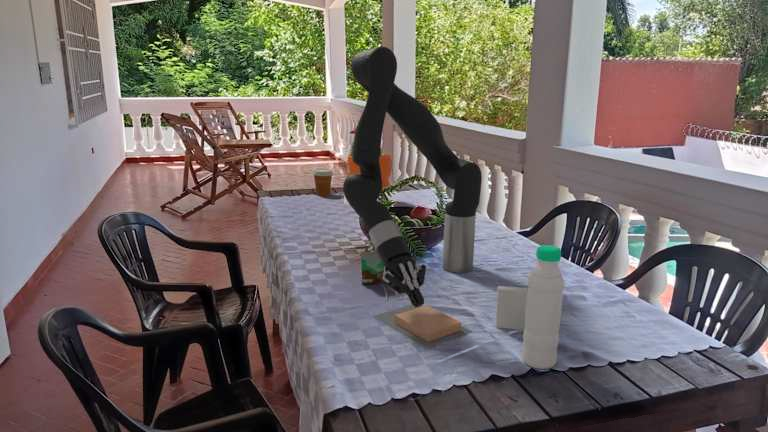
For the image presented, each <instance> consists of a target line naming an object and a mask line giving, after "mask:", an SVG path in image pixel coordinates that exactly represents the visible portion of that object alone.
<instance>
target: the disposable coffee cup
mask: <svg viewBox="0 0 768 432" xmlns="http://www.w3.org/2000/svg"><path fill="white" fill-rule="evenodd" d="M312 174H313V177H314V178H313V179H314V184H315V185H314V187H315V191H316V196H319V197H328V196H330V194H331V187H332V179H333V177H332V176H333V174H334V172H333V170H332V169H331V168H315V169H313V172H312Z"/></svg>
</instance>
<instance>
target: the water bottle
mask: <svg viewBox="0 0 768 432" xmlns="http://www.w3.org/2000/svg"><path fill="white" fill-rule="evenodd" d="M535 255H536V261H537V264H536V265H535V267H534V268H533V270H532V272H531V274H530V275H529V276H528V278H527V286H528V287H527V288H528V293H527V300H526V311H525V329H524V331H523V335H522V336H523V338H522V340H523V345H522V349H521V360H522V361H523V363H524V364H525V365H527V366H529V367H531V368H534V369H537V370H546V369H547V370H548V369H551V368H553V367H555V366H556V364H557V360H558V346H559V340H560V335H559V331H560V326H561V325H560V324H561V319H562V311H563V310H562V309H563V300H564V299H563V298H564V297H563V292H564V288H565V280H564V278H563V276H562V272H561V269H560V268H559V266H558V265H559V263H561V262H560V261H561V257H562V250H561V248H559V247H558V246H554V245H549V244H543V245H540V246H539V245H538V247H537V248H536V252H535Z"/></svg>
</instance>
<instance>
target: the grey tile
mask: <svg viewBox="0 0 768 432" xmlns="http://www.w3.org/2000/svg"><path fill="white" fill-rule="evenodd" d="M528 288H529V287H517V286H504V285H503V286H501V285H500V286H499V285H498V286H497V292H496V293H497V294H496V308H495V323H494V324H495V329H496V328H497V329H513V330H514V331H515V332H516V331H517V332H518V331H519V332H524V329H525V311H526V300H527V293H528Z"/></svg>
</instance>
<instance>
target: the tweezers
mask: <svg viewBox="0 0 768 432" xmlns="http://www.w3.org/2000/svg"><path fill="white" fill-rule="evenodd" d="M380 283H381V286H382V287H383V290H384V293H385V295H386V298H385V301H386V302H387V301H390V299H389V298H388V293H387V291H386V288H385V286H384V285H386V284H385V283H383V282H380ZM387 288H388V289H389V290H391V291H392V292H393V293H394V294H395V296H396V297H398V298H399V300H398V301H400V300H404V298H403V297H402V296H401V295H400V293H398V292H397V291H395V290H394V289H392V288H391V287H389V286H387Z"/></svg>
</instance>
